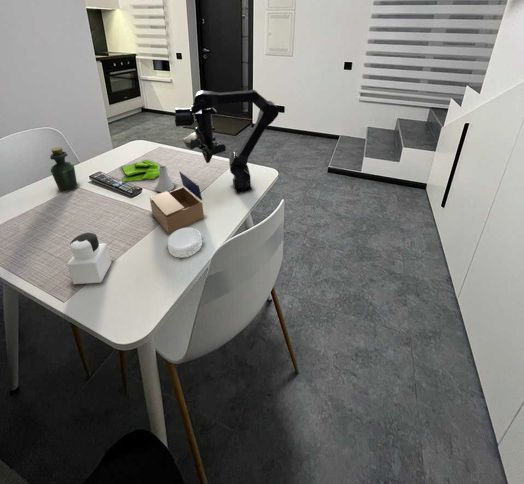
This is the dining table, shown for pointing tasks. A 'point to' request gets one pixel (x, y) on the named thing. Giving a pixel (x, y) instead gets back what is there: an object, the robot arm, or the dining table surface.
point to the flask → (164, 180)
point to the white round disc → (184, 242)
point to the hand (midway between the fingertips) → (207, 162)
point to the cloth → (141, 171)
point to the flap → (191, 185)
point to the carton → (176, 209)
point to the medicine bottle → (88, 259)
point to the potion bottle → (63, 170)
